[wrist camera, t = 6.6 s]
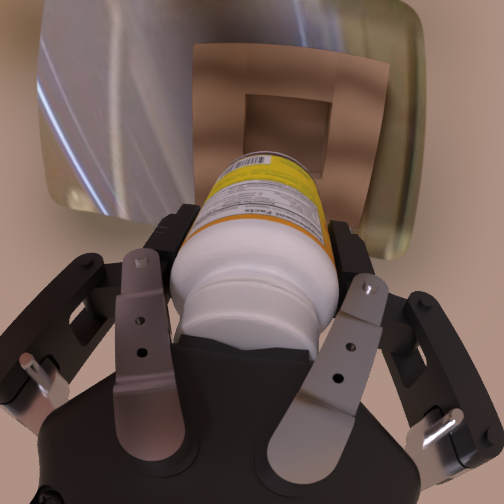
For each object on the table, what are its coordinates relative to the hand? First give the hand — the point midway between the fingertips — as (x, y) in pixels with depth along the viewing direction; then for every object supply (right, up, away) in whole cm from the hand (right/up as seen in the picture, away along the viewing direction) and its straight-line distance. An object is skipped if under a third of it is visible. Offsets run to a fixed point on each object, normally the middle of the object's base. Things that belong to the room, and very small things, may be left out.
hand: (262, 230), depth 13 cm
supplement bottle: (0, +2, +3) cm, 4 cm away
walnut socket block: (+3, +12, +16) cm, 20 cm away
